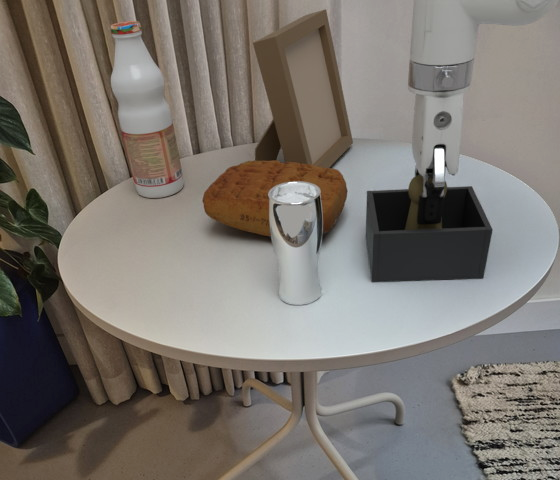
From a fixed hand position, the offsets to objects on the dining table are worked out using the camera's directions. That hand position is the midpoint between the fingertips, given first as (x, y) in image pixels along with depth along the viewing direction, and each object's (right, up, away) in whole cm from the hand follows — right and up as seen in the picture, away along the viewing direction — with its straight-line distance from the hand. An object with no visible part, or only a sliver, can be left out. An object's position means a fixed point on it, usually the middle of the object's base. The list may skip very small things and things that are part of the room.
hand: (425, 212), depth 82 cm
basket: (0, -5, +5) cm, 7 cm away
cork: (0, -4, +4) cm, 6 cm away
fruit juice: (-44, +13, +30) cm, 55 cm away
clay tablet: (-21, +3, +16) cm, 27 cm away
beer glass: (-18, -12, 0) cm, 21 cm away
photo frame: (-17, +19, +35) cm, 43 cm away
